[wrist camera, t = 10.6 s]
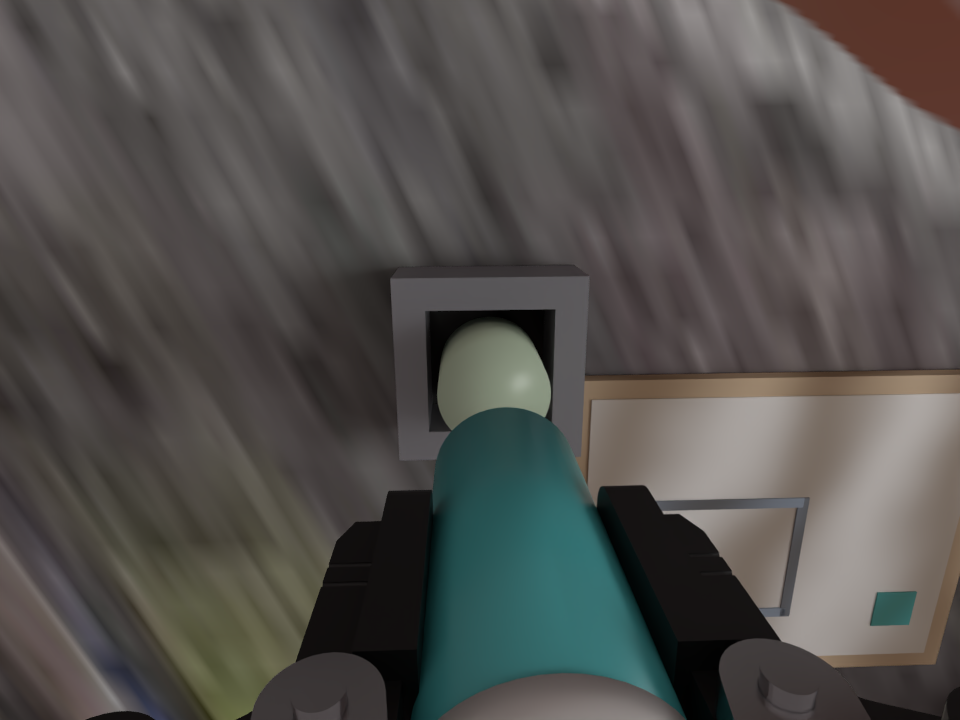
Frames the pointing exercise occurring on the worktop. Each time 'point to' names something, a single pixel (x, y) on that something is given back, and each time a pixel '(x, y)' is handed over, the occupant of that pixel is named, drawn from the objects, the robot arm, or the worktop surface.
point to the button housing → (486, 290)
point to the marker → (529, 588)
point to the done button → (490, 371)
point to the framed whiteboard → (804, 493)
